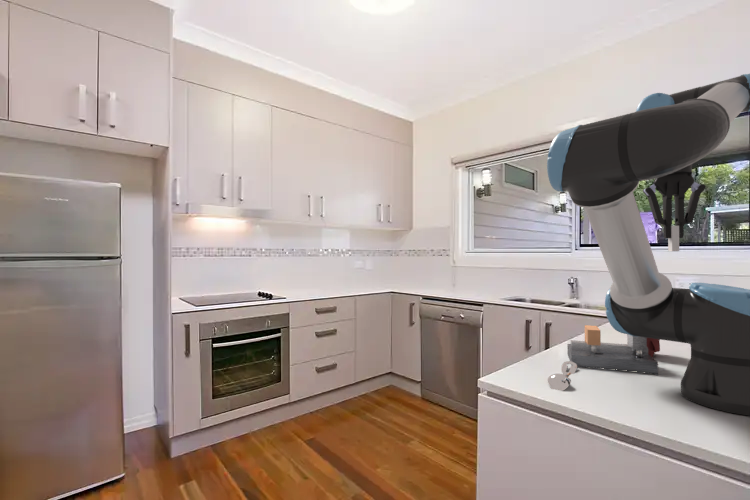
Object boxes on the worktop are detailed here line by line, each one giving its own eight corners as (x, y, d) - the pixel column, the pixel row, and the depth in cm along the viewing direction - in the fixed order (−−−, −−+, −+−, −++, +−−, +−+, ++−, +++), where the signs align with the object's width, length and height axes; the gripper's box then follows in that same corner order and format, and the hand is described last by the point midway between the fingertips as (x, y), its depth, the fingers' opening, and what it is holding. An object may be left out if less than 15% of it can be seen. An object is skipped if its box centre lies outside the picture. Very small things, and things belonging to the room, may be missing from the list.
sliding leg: (600, 353, 103) (600, 330, 103) (587, 352, 104) (587, 329, 104) (596, 347, 109) (596, 325, 109) (584, 346, 110) (584, 325, 110)
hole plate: (657, 374, 95) (657, 361, 95) (571, 365, 102) (571, 354, 102) (643, 360, 107) (643, 349, 107) (567, 353, 114) (567, 343, 114)
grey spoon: (560, 352, 102) (580, 355, 100) (560, 365, 102) (580, 368, 100) (545, 377, 86) (568, 381, 83) (545, 393, 86) (569, 397, 83)
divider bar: (651, 358, 98) (651, 334, 98) (572, 351, 105) (572, 329, 105) (644, 352, 104) (644, 330, 104) (570, 346, 111) (570, 325, 111)
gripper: (697, 160, 101) (698, 251, 100) (638, 164, 105) (639, 251, 105) (711, 153, 94) (712, 251, 93) (647, 158, 98) (648, 251, 98)
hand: (673, 251), depth 99 cm, fingers closed
